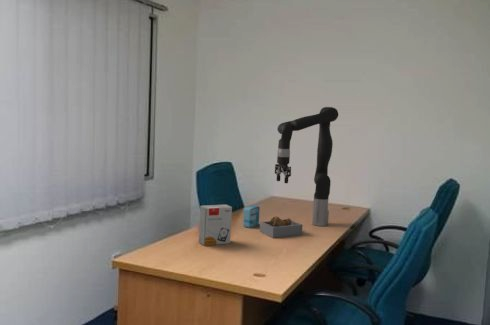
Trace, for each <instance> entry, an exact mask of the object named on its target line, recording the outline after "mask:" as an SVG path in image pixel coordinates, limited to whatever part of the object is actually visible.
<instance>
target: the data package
mask: <svg viewBox="0 0 490 325" xmlns="http://www.w3.org/2000/svg"><path fill="white" fill-rule="evenodd" d="M260 210H261V209H260V206H258V205H249V206H246V207H244V208H243V220H242V226H243V228H248V229H251V228H254V227H257V226H259V225H260Z"/></svg>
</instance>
